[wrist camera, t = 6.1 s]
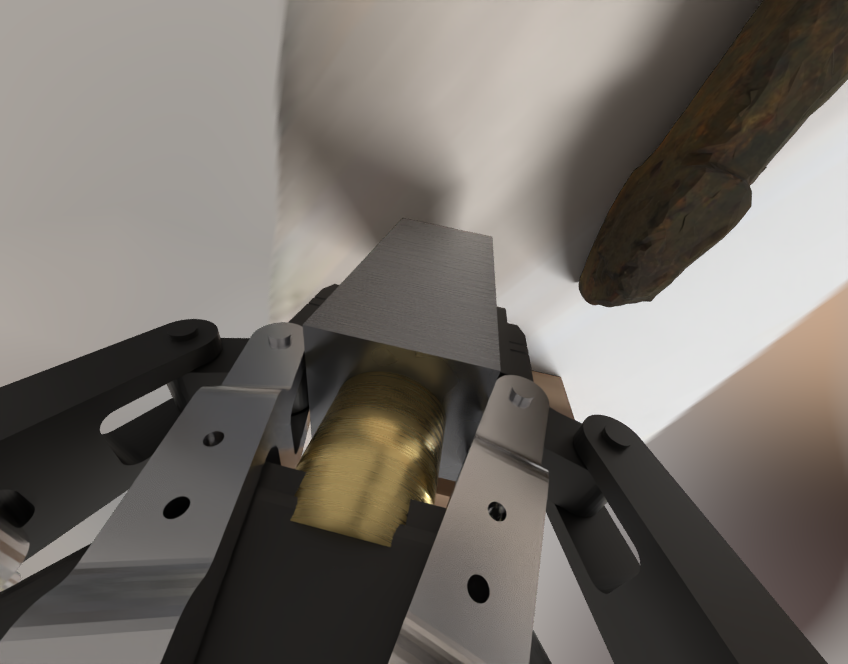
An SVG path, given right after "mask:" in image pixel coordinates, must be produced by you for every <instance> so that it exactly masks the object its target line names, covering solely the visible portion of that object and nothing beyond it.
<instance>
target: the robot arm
mask: <svg viewBox="0 0 848 664" xmlns="http://www.w3.org/2000/svg"><path fill="white" fill-rule="evenodd" d="M338 286H339V285H337V284H334V285H331V286H329V287H326V288H324V289H322V290H321V291H320V292H319V293H318V294H317V295H316V296H315V298H313V299H312V300H311V301H310V302H309V304H307V305H306V306H305V307H304V308H303V309H302V310H301V311H300V312H298V313H297V314H296V315H295V316H294V317H293V318H292V319H291V320H290V321H289V322H288V323H286V322H281V323H273V324H269V325H266V326H263V327H261V328H259V329H258V330H256V331H255V332H254V333H253V334H252V336H251V338H220V335H219V332H218V328H217V326H216V325H215V324H214V323H212V322H210V321H206V320H200V319H188V320H180V321H176V322H172V323H169V324H166V325H164V326H161V327H158V328H156V329H153V330H150V331H148V332H145V333H142V334H140V335H137V336H135V337H132V338H129V339H127V340H124V341H121V342H119V343H116V344H114V345H111V346H108V347H106V348H103V349H100V350H98V351H95V352H93V353H90V354H87V355H85V356H82V357H79V358H77V359H74V360H72V361H69V362H66V363H63V364H61V365H58V366H55V367H53V368H50V369H48V370H45V371H42V372H40V373H37V374H34V375H32V376H29V377H27V378H24V379H21V380H19V381H16V382H13V383H11V384H8V385H5V386H3V387H0V664H552V663H551V661H550V660H549V658H548V656H547V654H546V652H545V651H544V649H543V647H542V645H541V643H540V641H539V640H538V638H537V636H536V634H535V632H534V630H533V623H534V614H535V603H536V595H537V586H538V576H539V568H540V557H541V549H542V540H543V530H544V521H545V513H547V515H548V517H549V520H550V522H551V524H552V526H553V529H554V531H555V533H556V535H557V537H558V540H559V542H560V544H561V546H562V549H563V551H564V553H565V555H566V557H567V559H568V562H569V564H570V566H571V568H572V571H573V573H574V575H575V577H576V580H577V582H578V584H579V586H580V588H581V591H582V593H583V595H584V597H585V600H586V602H587V604H588V606H589V608H590V611H591V613H592V615H593V617H594V620H595V622H596V624H597V626H598V629H599V631H600V633H601V635H602V638H603V640H604V642H605V644H606V646H607V649H608V651H609V653H610V655H611V657H612V660H613V662H614V664H828V663H827V662H826V661H825V660H824V658H823V657H822V656H821V655H820V654H819V653H818V651H817V650H816V649H815V648H814V647H813V645H812V644H811V643H810V642H809V641H808V639H807V638H806V637H805V636H804V634H803V633H802V632H801V631H800V630H799V629H798V627H797V626H796V625H795V624H794V622H793V621H792V620H791V619H790V618H789V616H788V615H787V614H786V613H785V612H784V611H783V609H782V608H781V607H780V606H779V604H777V602H776V601H775V600H774V598H773V597H772V596H771V595H770V594H769V592H768V591H767V590H766V589H765V588H764V587H763V585H762V584H761V583H760V582H759V580H758V579H757V578H756V577H755V576H754V575H753V573H752V572H751V571H750V570H749V568H748V567H747V566H746V565H745V564H744V562H743V561H742V560H741V559H740V558H739V556H738V555H737V554H736V553H735V552H734V550H733V549H732V548H731V547H730V546H729V545H728V543H727V542H726V541H725V540H724V538H723V537H722V536H721V535H720V534H719V532H718V531H717V530H716V529H715V528H714V526H713V525H712V524H711V523H710V522H709V520H708V519H707V518H706V517H705V516H704V515H703V513H702V512H701V511H700V510H699V508H698V507H697V506H696V505H695V504H694V502H693V501H692V500H691V499H690V498H689V496H688V495H687V494H686V493H685V492H684V490H683V489H682V488H681V487H680V486H679V484H678V483H677V482H676V481H675V480H674V478H673V477H672V476H671V475H670V474H669V472H668V471H667V470H666V469H665V468H664V466H663V465H662V464H661V463H660V462H659V460H658V459H657V458H656V457H655V456H654V455H653V453H652V452H651V451H650V450H649V449H648V447H647V446H646V445H645V444H644V442H643V441H642V440H641V439H640V438H639V437H638V435H637V434H636V433H635V432H633V431H632V430H631V429H630V428H629V427H627V426H626V425H624V424H623V423H621V422H619V421H618V420H616V419H613V418H611V417H608V416H604V415H591V416H589V417H587V418H586V419H585V420H584V422H583V423H580V422H578V421H575V420H573V419H571V418H569V417H567V416H565V415H563V414H561V413H559V412H557V411H556V410H554V409H553V408H551V407H550V406H549V399H548V397H547V395H546V393H545V392H544V391H543V390H542V388H540V387H539V386H538V385H537V384H535V383H534V380H533V375H532V370H531V364H530V359H529V355H528V349H527V347H526V346H527V343H526V338H525V335H524V333H523V332H522V331H521V330H520V328H519V327H518V326H517V325H513V324H509V323H507V316H506V309H505V308H501V307H497V321H498V337H499V353H500V369H501V371H500V374H499V376H498V378H497V381H496V383H495V386H494V388H493V391H492V393H491V396H490V398H489V400H488V403H487V405H486V408H485V410H484V412H483V415H482V418H481V420H480V423H479V425H478V428H477V430H476V433H475V435H474V438H473V440H472V443H471V445H470V448H469V450H468V452H467V454H466V457H465V459H464V462H463V464H462V467H461V469H460V472H459V475H458V477H457V480H456V482H455V485H454V487H453V490H452V493H451V495H450V498H449V500H448V503H447V505H446V508H444V507H440V506H436V505H432V504H428V503H425V502H421V501H417V500H413V499H411V500H410V505H409V510H408V515H407V520H406V525H402V524H400V525H399V526H398V528H397V529H396V531H395V533H394V535H393V538H392V542H391V547H388V546H384V545H380V544H377V543H373V542H369V541H365V540H362V539H358V538H354V537H350V536H347V535H343V534H339V533H335V532H331V531H328V530H324V529H320V528H316V527H313V526H309V525H305V524H301V523H298V522H294V521H290V520H291V518H292V516H293V514H294V511H295V509H296V505H297V502H298V497H296V496H294V495H295V494H296V492H297V490H298V488H299V486H300V484H301V482H302V480H303V478H304V476H305V474H306V473H307V472H304V471H300V470H296V469H295V468H296V466H297V464H298V463H299V461H300V459H301V455H302V451H303V447H304V443H305V439H306V435H307V431H308V428H309V424H310V410H309V398H308V386H307V374H306V361H305V349H304V337H303V324H304V323H305V322H306V320H307V319H308V318H309V317H310V316H311V315H312V314H313V313H314V312H315V311H316V310H317V309H318V308H319V307H320V306H321V305H322V303H323V302H324V301H325V300H326V299H327V298H328V297H329V296H330V295H331V294H332V293H333V292H334V291H335V290H336V289H337V288H338ZM165 384H167V386H168V388H169V390H170V392H171V395H172V397H173V398H172V399H170V400H168V401H166V402H164V403H162V404H161V405H159V406H157V407H155V408H153V409H152V410H150V411H148V412H146V413H144V414H143V415H141V416H139V417H137V418H135V419H134V420H132V421H130V422H128V423H126V424H124V425H123V426H121V427H119V428H117V429H115V430H114V431H111V432H109V433H107V434H101V433H100V425H101V423H102V421H103V420H104V419H105V418H106V417H107V416H108V415H109V414H110V413H112V412H113V411H115V410H117V409H119V408H120V407H123V406H125V405H126V404H128V403H130V402H132V401H134V400H136V399H138V398H140V397H142V396H144V395H146V394H148V393H150V392H152V391H154V390H156V389H158V388H160V387H161V386H163V385H165ZM128 489H129V490H128ZM126 490H128V492H127V493H126V494H125V496H124V497H123V499H122V500H121V502H120V503H119V505H118V506H117V507H116V509H115V510H114V512H113V513H112V515H111V516H110V518H109V519H108V520H107V522H106V523H105V525H104V526H103V528H102V529H101V531H100V532H99V534H98V535H97V536H96V538H95V539H94V541H93V542H92V543H91V544H90V545H87V546H86V547H84V548H82V549H80V550H78V551H76V552H74V553H72V554H71V555H69V556H67V557H65V558H63V559H61V560H59V561H58V562H56V563H54V564H52V565H50V566H48V567H46V568H45V569H43V570H41V571H39V572H37V573H35V574H33V575H31V576H30V577H28V578H26V579H24V580H22V581H20V580H21V575H20V573H19V572H17V569H18V568H19V567H20V565H21V564H22V563H23V562H24V561H25V560H27V559H28V558H30V557H31V556H33V555H34V554H35V553H37V552H38V551H40V550H41V549H43V548H44V547H46V546H47V545H49V544H50V543H52V542H53V541H54V540H56V539H57V538H59V537H60V536H62V535H63V534H65V533H66V532H67V531H69V530H70V529H72V528H73V527H75V526H76V525H78V524H79V523H80V522H82V521H83V520H85V519H86V518H88V517H89V516H91V515H92V514H93V513H95V512H96V511H98V510H99V509H101V508H102V507H104V506H105V505H107V504H108V503H109V502H111V501H112V500H114V499H115V498H117V497H118V496H120V495H121V494H122V493H124V492H125V491H126ZM607 502H608V503H609V505H610V506H611V508H612V510H613V511H614V513H615V514H616V516H617V518H618V519H619V521H620V523H621V524H622V526H623V528H624V529H625V531H626V532H627V534H628V536H629V537H630V539H631V540H632V542H633V544H634V545H635V547H636V549H637V551H638V554H639V558H640V564H641V566H640V564H639V563H638V561H637V559H636V557H635V556H634V554H633V553H632V551H631V549H630V548H629V546H628V544H627V543H626V541H625V539H624V538H623V536H622V535H621V533H620V531H619V529H618V528H617V526H616V525H615V523H614V521H613V519H612V518H611V516H610V515H609V513H608V511H607V509H606V508H605V506H604V505H605V504H606V503H607Z"/></svg>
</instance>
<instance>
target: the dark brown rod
mask: <svg viewBox="0 0 848 664" xmlns="http://www.w3.org/2000/svg"><path fill="white" fill-rule="evenodd" d="M847 80H848V0H763V2H762V3H761V5H760V6H759V7H758V9H757V10H756V11H755V13H754V14H753V15H752V17H751V18H750V19H749V21H748V22H747V23H746V25H745V26H744V28H743V29H742V31H741V33H740V34H739V35H738V37H737V38H736V40H735V41H734V43H733V44H732V45H731V47H730V48H729V50H728V51H727V52H726V54H725V55H724V57H723V58H722V59H721V61H720V62H719V64H718V65H717V66H716V68H715V69H714V70H713V72H712V73H711V74H710V76H709V77H708V79H707V80H706V81H705V83H704V84H703V86H702V87H701V88H700V90H699V91H698V93H697V94H696V96H695V97H694V99H693V100H692V101H691V103H690V104H689V106H688V107H687V108H686V110H685V111H684V112H683V114H682V115H681V116H680V118H679V119H678V120H677V122H676V123H675V124H674V126H673V127H672V129H671V130H670V132H669V133H668V134H667V136H666V137H665V139H664V140H663V142H662V143H661V144H660V146H659V147H658V148H657V149H656V150H655V152H654V153H653V154H652V155H651V156H650V157H649V158H648V159H647V160H646V161H645V162H644V163H643V165H642V166H640V167H638V168H636V169H635V170H634V171H633V173H632V174H631V176H630V177H629V179H628V180H627V182H626V183H625V185H624V187H623V188H622V190H621V191H620V193H619V195H618V196H617V198H616V200H615V202H614V203H613V205H612V207H611V209H610V210H609V212H608V214H607V216H606V218H605V221H604V223H603V225H602V227H601V229H600V231H599V233H598V236H597V238H596V240H595V242H594V244H593V247H592V249H591V251H590V254H589V256H588V258H587V261H586V264H585V267H584V270H583V272H582V275H581V277H580V280H579V291H580V293H581V295H582V296H583V298H584V299H585V300H586V302H588V303H589V304H592V305H602V306H605V307H614V306H621V305H625V304H632V303H638V302H642V301H649V302H651V301H652V300H653V299H654V298H655V296H656V295H657V294H659V293H660V292H661V291H662V290H664V289H665V288H666V287H667V286H669V285H670V284H671V283H672V282H673V281H674V279H675V278H677V277H678V276H679V275H680V274H681V273H682V272H683V271H684V270H685V269H686V268H687V267H688V266H689V265H691V264H692V263H693V262H694V261H695V260H697V259H698V258H699V257H700V256H702V255H703V254H704V253H705V252H707V251H708V250H709V249H710V248H712V247H713V246H714V245H715V244H717V243H718V242H719V241H720V240H722V239H723V238H724V237H725V236H726V235H727V234H728V233H729V232H730V231H731V230H732V229H733V228H734V227H735V226H736V225H737V224H738V223H739V221H740V220H741V219H742V218H743V217H744V215H745V214H746V213H747V211H748V210H749V209H750V207H751V201H752V191H751V188H750V185H751V184H752V183H753V182H754V181H755V180H756V179H757V178H758V176H759V175H760V173H762V172H763V171H764V170H765V168H766V166H767V165H768V163H769V162H770V161H771V160H772V159H773V158H774V156H775V155H776V154H777V153H778V152H779V151H780V150H781V149H782V147H783V146H784V145H785V144H786V143H787V142H788V141H789V139H790V138H791V137H792V136H793V135H794V134H795V133H796V132H797V130H798V129H799V128H800V127H801V126H802V124H803V123H804V122H805V121H806V120H807V118H808V117H809V116H810V115H811V114H812V113H814V112H815V111H816V110H817V109H818V108H820V107H821V106H822V105H823V104H824V103H825V102H826V101H827V100H829V99H830V97H831V96H832V95H833V94H834V93H835V92H836V91H837V90H838V89H839V88H840V87H841V86H842V85H843V84H844V83H845V82H846V81H847Z"/></svg>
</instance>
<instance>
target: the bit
mask: <svg viewBox="0 0 848 664" xmlns="http://www.w3.org/2000/svg"><path fill="white" fill-rule="evenodd" d="M303 337H304V349H305V361H306V374H307V386H308V398H309V410H310V422H311V435H312V439H311V441H310V443H309V445H308V447H307V448H306V450H305V452H304V454H303V455H302V457H301V459H300V461H299V463H298V464H297V466H296V468H295V469H296V470H300V471H304V472H307V473H306V474H305V476H304V478H303V480H302V482H301V484H300V486H299V488H298V490H297V492H296V494H295V495H294V496H296V497H298V502H297V505H296V509H295V511H294V514H293V516H292V518H291V520H290V521H294V522H298V523H301V524H305V525H309V526H313V527H316V528H320V529H324V530H328V531H331V532H335V533H339V534H343V535H347V536H350V537H354V538H358V539H362V540H365V541H369V542H373V543H377V544H380V545H384V546H388V547H391V542H392V538H393V535H394V533H395V531H396V529H397V528H398V526H399V525H400V524H402V525H406V520H407V515H408V510H409V505H410V500H411V499H413V500H417V501H421V502H425V503H428V504H432V505H435V498H436V491H437V484H438V477H440V478H444V479H448V480H452V481H456V480H457V477H458V475H459V472H460V469H461V467H462V464H463V462H464V459H465V457H466V454H467V452H468V450H469V448H470V445H471V443H472V440H473V438H474V435H475V433H476V430H477V428H478V425H479V423H480V420H481V418H482V415H483V412H484V410H485V408H486V405H487V403H488V400H489V398H490V396H491V393H492V391H493V388H494V386H495V383H496V381H497V378H498V376H499V374H500V371H501V369H500V353H499V337H498V321H497V305H496V289H495V273H494V256H493V240H492V237H491V236H486V235H482V234H477V233H472V232H468V231H463V230H458V229H453V228H449V227H444V226H439V225H434V224H430V223H425V222H420V221H415V220H411V219H406V218H402V219H401V221H400V222H399V223H398V224H397V225H396V226H395V227H394V228H393V229H392V230H391V231H390V232H389V233H388V234H387V235H386V236H385V238H384V239H383V240H382V241H381V242H380V243H379V244H378V245H377V246H376V247H375V248H374V249H373V250H372V251H371V252H370V253H369V255H368V256H367V257H366V258H365V259H364V260H363V261H362V262H361V263H360V264H359V265H358V266H357V267H356V268H355V269H354V270H353V272H352V273H351V274H350V275H349V276H348V277H347V278H346V279H345V280H344V281H343V282H342V283H341V284H340V285H339V286H338V288H337V289H336V290H335V291H334V292H333V293H332V294H331V295H330V296H329V297H328V298H327V299H326V300H325V301H324V302H323V303H322V305H321V306H320V307H319V308H318V309H317V310H316V311H315V312H314V313H313V314H312V315H311V316H310V317H309V318H308V319H307V320H306V322H305V323H304V324H303Z"/></svg>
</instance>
